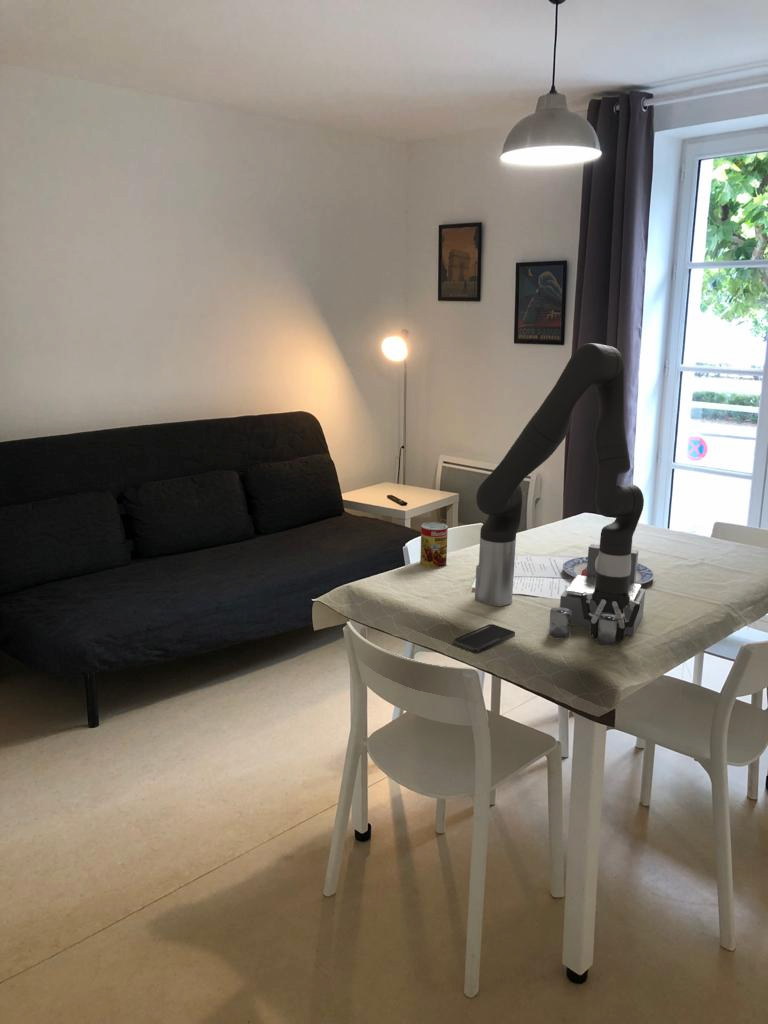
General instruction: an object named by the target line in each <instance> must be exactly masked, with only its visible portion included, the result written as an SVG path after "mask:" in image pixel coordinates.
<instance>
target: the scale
mask: <svg viewBox="0 0 768 1024" xmlns="http://www.w3.org/2000/svg"><path fill="white" fill-rule="evenodd" d="M599 548H600V544H594V543H591V544H589V546H588V551H587V557H588V561H587V573H586V576H587V577H594V578H596V570H597V559H598V555H599ZM638 560H639V550H638V549H631V572H630V582H629V583H633V584H635V581H636V571H637V563H638ZM574 579H575V577H573V579H572V581H571V582H570V583H569V584H568V586H567V587H566V588H565V589H564V591H562V594H561V595H560V598H559V599H560V602H559V607H562V608H567V609H569V610H571V611H572V618H571V626H576V627H581V628H582V627H583V628H588V629H591V622H590V621H589V620H586V619H584V617H583V611H582V605H581V599H580V597H581V596H580V595H574V594H568V593H566V590H567V588H568V587H569V586H570V584H571V583H572V582H573V581H574ZM645 596H646V588H641V589H640V591H639V593H638V595H637V597H636V598H635V600H634V601H636V602H637V601H640V602H641V607H640V609H639V612H638V615H637V617H636V620H635V622H634V624H633V627H626V628H625V636H626V635H628V636H634V635H635V633H636V630H637V629H638V626H639V624H640V622H641V620H642V618H643V616H644V605H645V599H646V597H645ZM589 606H590V612H591V614H593V615H594V614H595V612H596V610H597V608H598V606H597V605H596V603H595V601H594V600H593V598H591V601H590V603H589ZM623 610H624V614H625V619H626V620H629V619H630V617H631V614H632V610H631V609H630V605H629V604H628V605H627V606H626V607H625V608H624V609H623ZM601 614H612V613H609V612H606V613H605V612H601ZM612 615H615V614H612Z"/></svg>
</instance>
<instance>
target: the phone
mask: <svg viewBox="0 0 768 1024" xmlns="http://www.w3.org/2000/svg"><path fill="white" fill-rule="evenodd" d="M515 636H516V632H515V631H514V630H511V629H509V628H505V627H502V626H499V625H496V624H492V623H491V624H487V625H484V626H482V627H480V628H477V629H475V630H472V631H470V632H468V633H466V634H463V635H461V636H459V637H456V638H454V639H453V641H452V642H453V644H454V645H455V646H457V647H461V648H463V649H464V650H465V649H466V650H468V651H471V652H473V653H482V652H484V651H486V650H489V649H490V648H493V647H495V646H497V645H499V644H502V643H503V642H505V641H508V640H510V639H512V638H514V637H515Z"/></svg>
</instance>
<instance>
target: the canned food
mask: <svg viewBox="0 0 768 1024" xmlns="http://www.w3.org/2000/svg"><path fill="white" fill-rule="evenodd" d="M420 527H421V529H420V530H421V531H420V558H419V559H420V561H419V563H420V565H419V566H421V567H424V568H427V569H442V568H445V567H446V566H447V557H448V556H447V553H448V534H449V533H448V532H449V531H448V528H449V526H448V525H447V524H446V523H443V522H424V523H422V524H421V526H420Z"/></svg>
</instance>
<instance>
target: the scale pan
mask: <svg viewBox="0 0 768 1024" xmlns="http://www.w3.org/2000/svg"><path fill="white" fill-rule="evenodd" d="M574 578H575V577H574ZM574 578H573V579H574ZM572 581H573V580H572ZM572 581H571V582H572ZM571 582H570V583H571ZM595 582H596V578H594V577H587V576H581V575H577V577H576V578H575V579H574V581H573V582H572V583H571V584H570V583H569V585H570V586H569V585H568V586H569V587H568V586H567V587H568V588H567V587H566V588H567V590H566V589H565V590H566V593H568V594H574V595H580V596H581V595H582V594H583V593H584V592H586V593H587V594H589V593H593V592H594V590H595ZM640 589H642V584H633V583H629V592H628V594H629V597H630V599H631V600H635V598H636V597H637V595H638V593H639V591H640Z"/></svg>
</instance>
